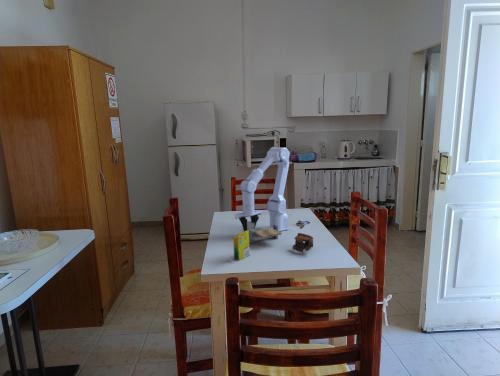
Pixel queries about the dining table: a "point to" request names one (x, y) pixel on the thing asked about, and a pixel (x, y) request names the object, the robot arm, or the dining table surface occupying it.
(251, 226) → the grey rectangular block
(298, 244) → the brown figurine
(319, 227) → the dining table surface
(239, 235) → the crayon box
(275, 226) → the frame
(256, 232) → the trapdoor
